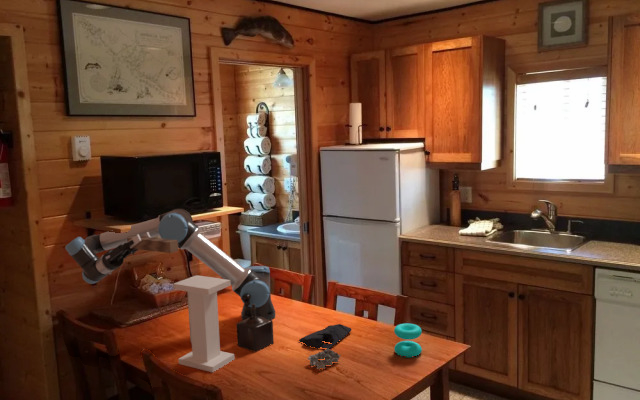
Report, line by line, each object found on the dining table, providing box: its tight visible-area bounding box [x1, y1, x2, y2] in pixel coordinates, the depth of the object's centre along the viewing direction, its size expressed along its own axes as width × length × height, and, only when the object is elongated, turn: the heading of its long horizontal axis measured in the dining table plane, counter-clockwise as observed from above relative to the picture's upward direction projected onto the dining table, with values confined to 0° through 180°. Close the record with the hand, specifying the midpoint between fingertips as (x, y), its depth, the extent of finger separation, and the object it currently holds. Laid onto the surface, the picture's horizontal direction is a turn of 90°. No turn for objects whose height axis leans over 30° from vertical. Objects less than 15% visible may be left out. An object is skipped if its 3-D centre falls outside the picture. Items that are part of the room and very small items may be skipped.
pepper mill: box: [235, 294, 274, 353], centre depth 214 cm, size 16×11×18 cm
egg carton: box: [307, 348, 341, 369], centre depth 195 cm, size 11×8×4 cm
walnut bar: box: [127, 236, 179, 254], centre depth 205 cm, size 22×4×4 cm, turn 61°
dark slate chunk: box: [298, 323, 352, 349], centre depth 218 cm, size 15×22×5 cm
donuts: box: [393, 322, 423, 358], centre depth 201 cm, size 10×10×10 cm
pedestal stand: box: [173, 274, 236, 373], centre depth 197 cm, size 16×12×30 cm
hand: (144, 236), depth 207 cm, fingers closed on walnut bar, 4 cm apart
